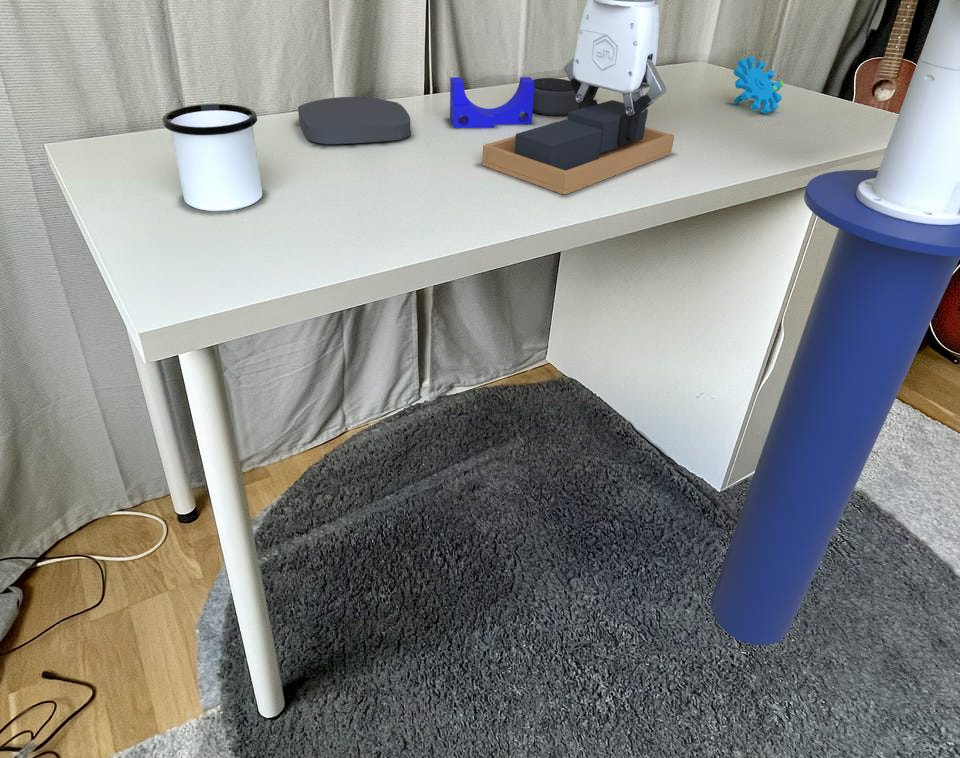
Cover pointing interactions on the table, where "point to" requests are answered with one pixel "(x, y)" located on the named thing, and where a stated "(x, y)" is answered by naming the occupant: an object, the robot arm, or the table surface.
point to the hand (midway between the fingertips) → (605, 136)
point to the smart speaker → (554, 97)
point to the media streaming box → (353, 120)
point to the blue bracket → (488, 117)
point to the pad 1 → (560, 144)
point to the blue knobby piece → (757, 85)
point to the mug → (216, 155)
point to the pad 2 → (607, 121)
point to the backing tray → (581, 176)
